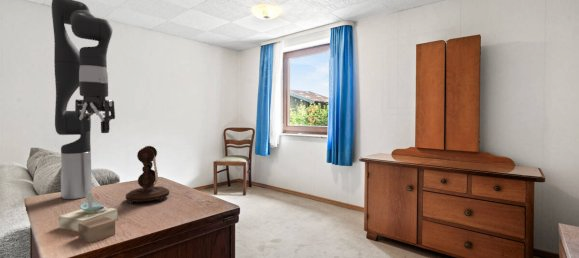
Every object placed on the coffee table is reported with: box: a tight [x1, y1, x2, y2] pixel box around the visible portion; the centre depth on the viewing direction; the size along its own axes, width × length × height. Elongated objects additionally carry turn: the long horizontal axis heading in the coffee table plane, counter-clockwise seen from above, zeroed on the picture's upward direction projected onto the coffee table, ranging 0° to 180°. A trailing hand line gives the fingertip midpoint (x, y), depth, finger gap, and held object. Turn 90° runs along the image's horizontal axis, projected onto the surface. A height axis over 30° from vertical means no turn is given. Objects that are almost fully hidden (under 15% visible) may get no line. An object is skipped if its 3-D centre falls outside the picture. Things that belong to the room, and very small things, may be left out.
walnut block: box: [78, 216, 116, 244], centre depth 74 cm, size 6×6×4 cm
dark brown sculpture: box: [125, 145, 170, 205], centre depth 106 cm, size 15×15×20 cm
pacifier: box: [80, 191, 108, 213], centre depth 83 cm, size 7×6×6 cm
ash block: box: [58, 206, 118, 232], centre depth 82 cm, size 10×10×4 cm
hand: (95, 132), depth 90 cm, fingers open, 8 cm apart
